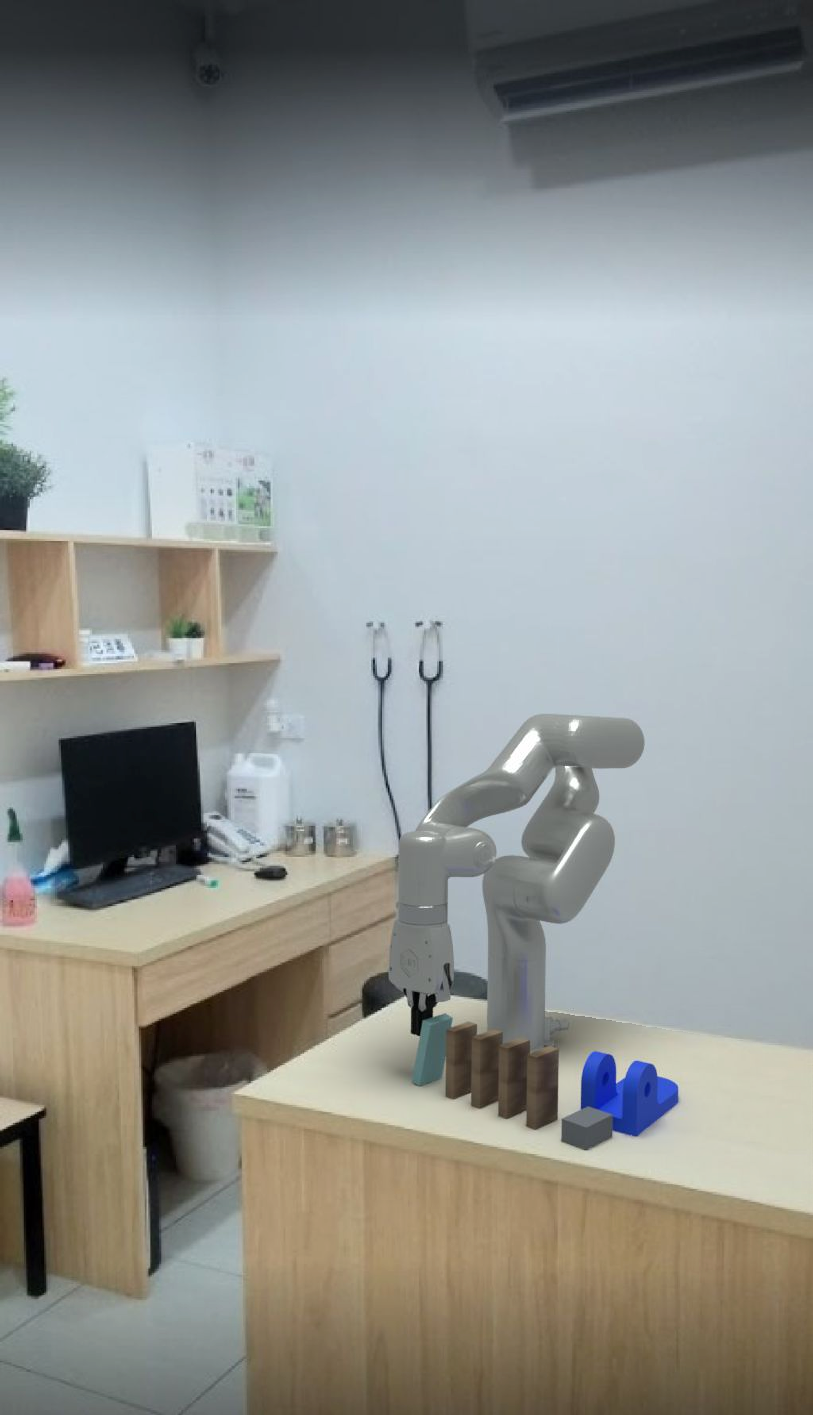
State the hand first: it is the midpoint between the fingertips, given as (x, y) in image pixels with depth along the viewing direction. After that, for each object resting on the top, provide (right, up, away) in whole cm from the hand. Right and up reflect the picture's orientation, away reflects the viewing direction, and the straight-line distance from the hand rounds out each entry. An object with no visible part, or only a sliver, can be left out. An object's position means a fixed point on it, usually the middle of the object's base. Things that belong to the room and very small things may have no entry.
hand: (421, 1032), depth 173 cm
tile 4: (+13, -8, -12) cm, 19 cm away
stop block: (+22, -8, -21) cm, 31 cm away
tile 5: (+16, -8, -16) cm, 24 cm away
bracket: (+30, -8, -10) cm, 33 cm away
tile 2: (+6, -7, -5) cm, 11 cm away
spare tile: (+1, -7, 0) cm, 7 cm away
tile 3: (+9, -8, -9) cm, 15 cm away
